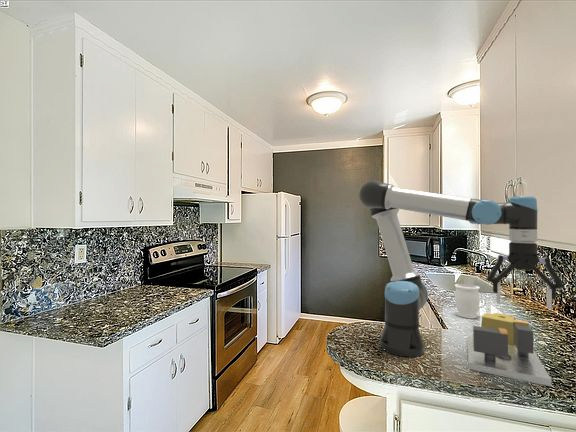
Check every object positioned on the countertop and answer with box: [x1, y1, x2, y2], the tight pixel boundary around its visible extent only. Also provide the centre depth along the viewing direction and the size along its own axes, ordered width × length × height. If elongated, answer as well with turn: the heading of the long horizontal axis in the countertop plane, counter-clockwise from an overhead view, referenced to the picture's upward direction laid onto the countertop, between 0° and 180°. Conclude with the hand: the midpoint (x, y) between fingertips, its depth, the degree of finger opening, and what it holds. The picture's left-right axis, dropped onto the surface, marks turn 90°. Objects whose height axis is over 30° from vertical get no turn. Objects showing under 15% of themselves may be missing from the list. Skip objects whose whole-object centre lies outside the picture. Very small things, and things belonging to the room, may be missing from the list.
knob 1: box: [472, 325, 508, 362], centre depth 98 cm, size 9×4×10 cm, turn 61°
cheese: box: [480, 312, 516, 346], centre depth 118 cm, size 10×11×10 cm
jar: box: [454, 283, 481, 319], centre depth 150 cm, size 11×10×15 cm
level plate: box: [466, 337, 552, 387], centre depth 101 cm, size 20×24×3 cm
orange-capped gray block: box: [513, 319, 534, 357], centre depth 101 cm, size 9×4×10 cm, turn 151°
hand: (522, 305), depth 102 cm, fingers open, 13 cm apart
